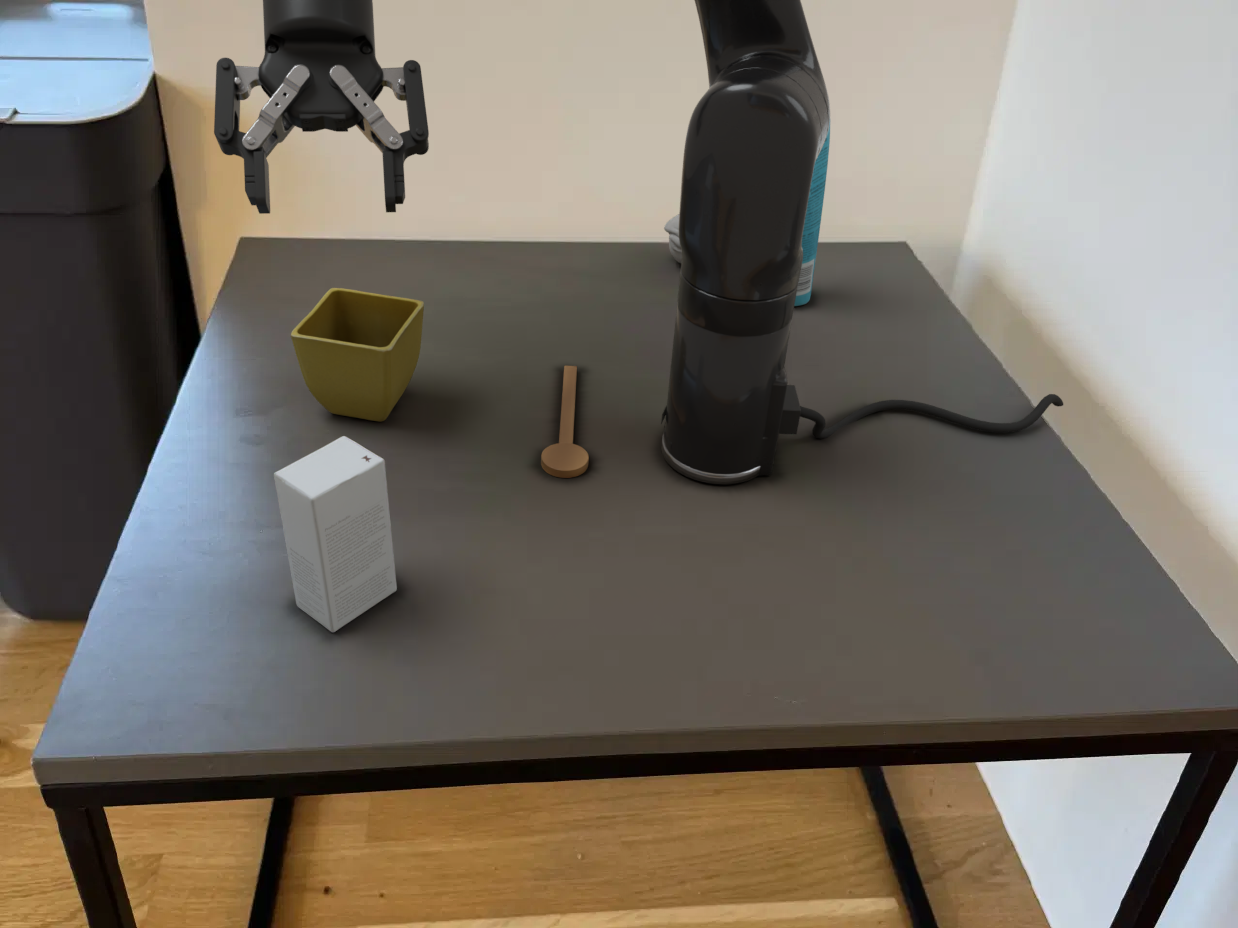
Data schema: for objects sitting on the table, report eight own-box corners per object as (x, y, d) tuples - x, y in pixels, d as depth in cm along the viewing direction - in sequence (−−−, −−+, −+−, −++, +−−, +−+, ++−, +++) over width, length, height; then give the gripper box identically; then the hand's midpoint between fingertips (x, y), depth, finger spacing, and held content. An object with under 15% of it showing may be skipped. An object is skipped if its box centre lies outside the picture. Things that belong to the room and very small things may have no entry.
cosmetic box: (359, 564, 82) (345, 432, 75) (398, 591, 80) (387, 458, 73) (292, 606, 78) (270, 471, 71) (331, 636, 76) (313, 499, 69)
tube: (778, 278, 124) (805, 109, 113) (819, 290, 122) (851, 119, 111) (754, 305, 119) (779, 129, 107) (796, 317, 117) (827, 140, 106)
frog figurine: (724, 277, 124) (731, 219, 119) (661, 274, 123) (667, 216, 119) (719, 253, 128) (726, 196, 124) (659, 250, 128) (664, 193, 124)
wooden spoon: (591, 372, 106) (591, 364, 105) (587, 479, 92) (588, 471, 92) (549, 369, 106) (549, 362, 105) (539, 477, 92) (540, 469, 91)
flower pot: (395, 440, 95) (389, 349, 90) (299, 423, 96) (287, 333, 91) (430, 387, 102) (425, 300, 97) (340, 372, 103) (331, 286, 98)
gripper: (201, -44, 73) (208, 189, 71) (419, -38, 76) (432, 187, 74) (222, 17, 81) (229, 230, 78) (420, 21, 83) (432, 227, 81)
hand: (327, 209), depth 76 cm, fingers open, 8 cm apart
